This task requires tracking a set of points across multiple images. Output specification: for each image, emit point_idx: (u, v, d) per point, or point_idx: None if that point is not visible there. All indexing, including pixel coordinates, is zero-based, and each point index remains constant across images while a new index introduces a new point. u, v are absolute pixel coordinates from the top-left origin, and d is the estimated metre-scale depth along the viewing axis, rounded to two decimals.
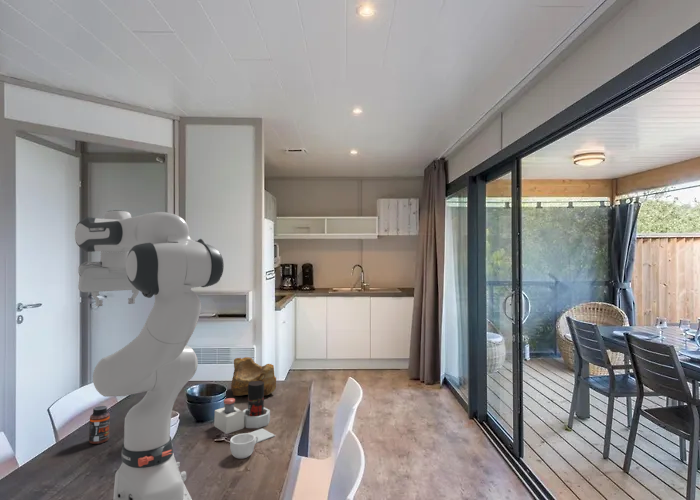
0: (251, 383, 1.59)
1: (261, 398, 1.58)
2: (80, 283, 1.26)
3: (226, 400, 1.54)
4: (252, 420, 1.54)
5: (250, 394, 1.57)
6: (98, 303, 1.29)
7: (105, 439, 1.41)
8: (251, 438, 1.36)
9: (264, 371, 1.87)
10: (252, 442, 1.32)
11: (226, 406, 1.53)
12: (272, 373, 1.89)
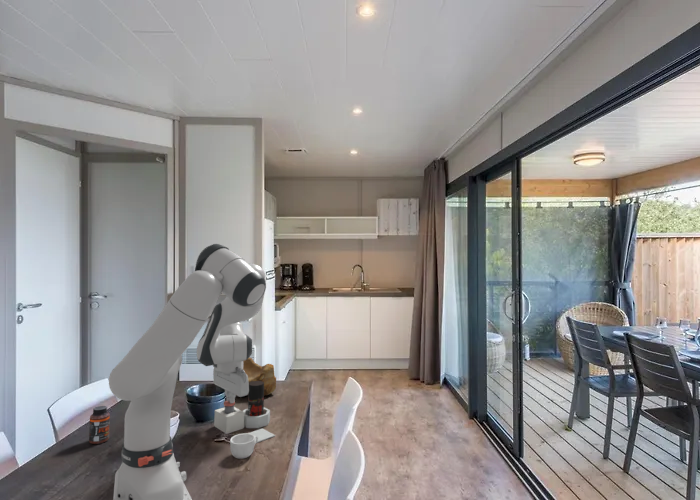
0: (251, 383, 1.59)
1: (261, 398, 1.58)
2: (246, 388, 1.48)
3: (226, 402, 1.54)
4: (252, 420, 1.54)
5: (250, 394, 1.57)
6: None
7: (105, 439, 1.41)
8: (251, 438, 1.36)
9: (264, 371, 1.87)
10: (252, 442, 1.32)
11: (226, 408, 1.53)
12: (272, 373, 1.89)
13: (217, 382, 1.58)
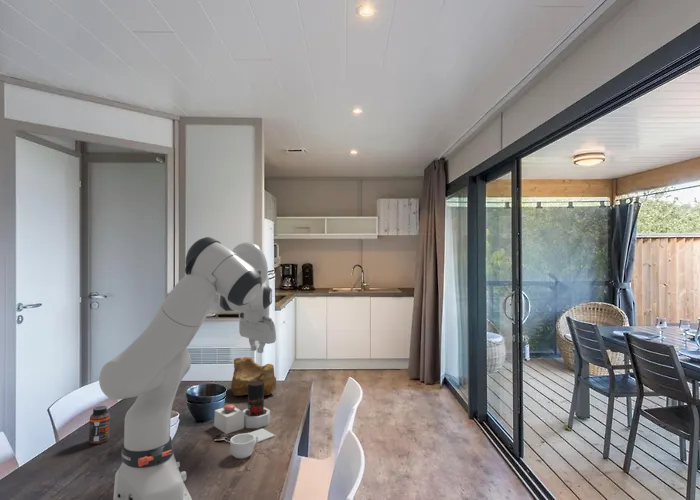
0: (251, 383, 1.59)
1: (261, 398, 1.58)
2: (273, 336, 1.53)
3: (226, 406, 1.54)
4: (252, 420, 1.54)
5: (250, 394, 1.57)
6: None
7: (105, 439, 1.41)
8: (251, 438, 1.36)
9: (264, 371, 1.87)
10: (252, 442, 1.32)
11: (226, 412, 1.53)
12: (272, 373, 1.89)
13: (243, 333, 1.63)
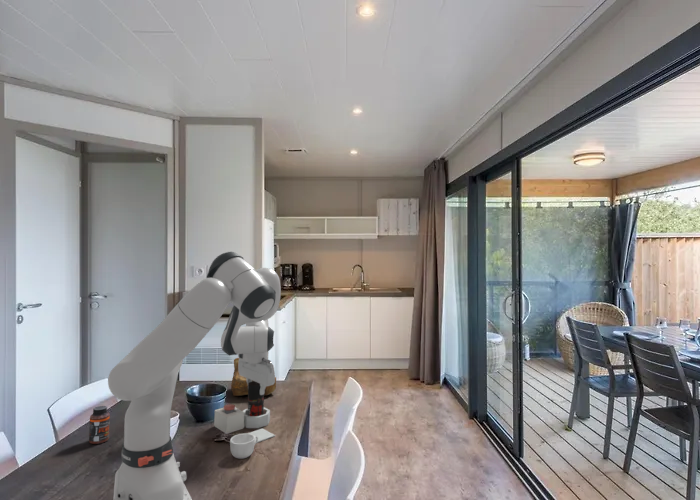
0: (251, 383, 1.59)
1: (261, 398, 1.58)
2: (272, 378, 1.53)
3: (226, 406, 1.54)
4: (252, 420, 1.54)
5: (250, 394, 1.57)
6: None
7: (105, 439, 1.41)
8: (251, 438, 1.36)
9: None
10: (252, 442, 1.32)
11: (226, 412, 1.53)
12: None
13: (242, 372, 1.63)
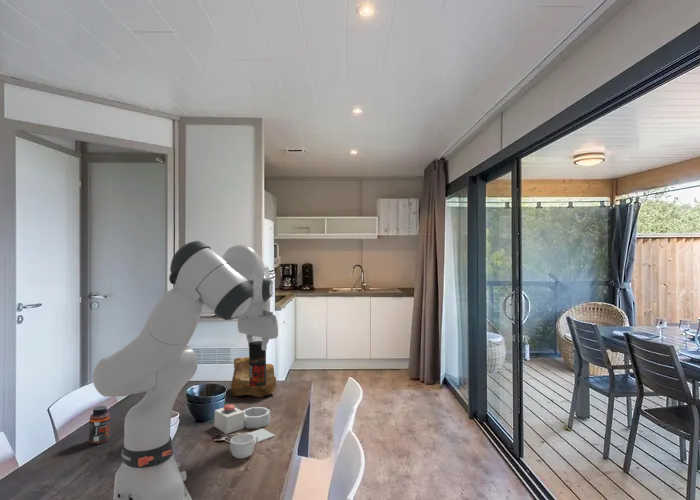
0: (252, 343, 1.49)
1: (263, 358, 1.48)
2: (275, 331, 1.43)
3: (226, 406, 1.54)
4: (252, 420, 1.54)
5: (251, 354, 1.47)
6: None
7: (105, 439, 1.41)
8: (251, 438, 1.36)
9: None
10: (252, 442, 1.32)
11: (226, 412, 1.53)
12: (272, 373, 1.89)
13: (242, 329, 1.53)
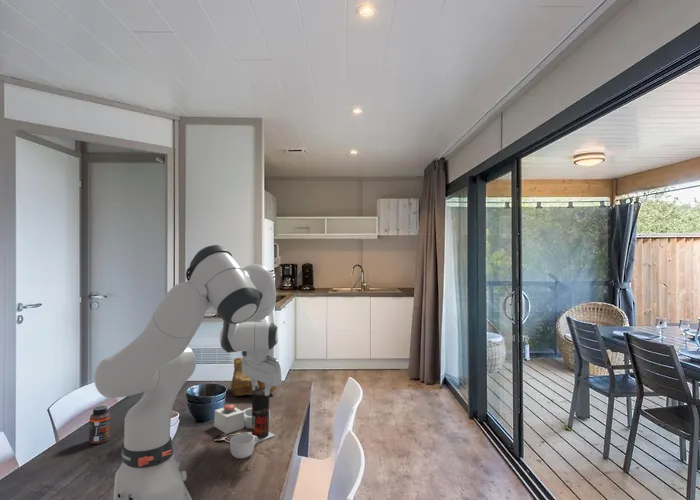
0: (255, 393, 1.47)
1: (267, 408, 1.46)
2: (278, 378, 1.41)
3: (226, 406, 1.54)
4: None
5: (255, 404, 1.45)
6: None
7: (105, 439, 1.41)
8: (251, 438, 1.36)
9: None
10: (252, 442, 1.32)
11: (226, 412, 1.53)
12: None
13: (246, 371, 1.52)
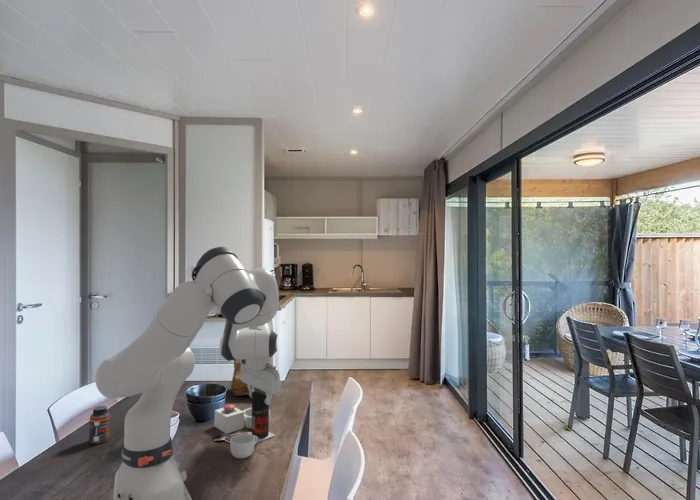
0: (255, 393, 1.47)
1: (266, 408, 1.46)
2: (278, 386, 1.41)
3: (226, 406, 1.54)
4: None
5: (255, 405, 1.45)
6: None
7: (105, 439, 1.41)
8: (251, 438, 1.36)
9: None
10: (252, 442, 1.32)
11: (226, 412, 1.53)
12: None
13: (245, 379, 1.51)
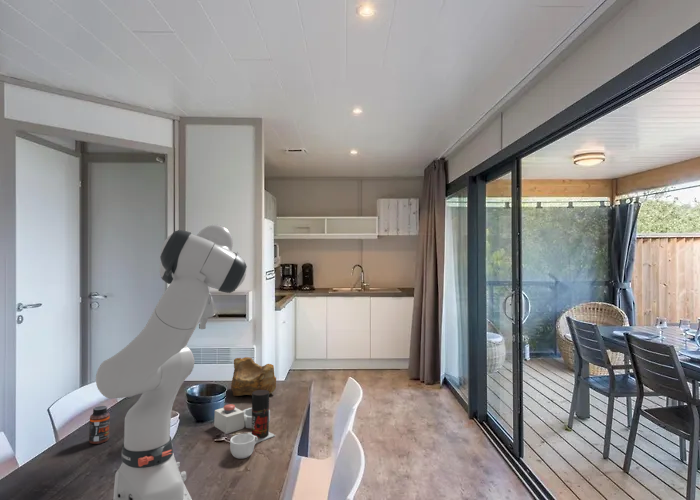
0: (255, 393, 1.47)
1: (266, 408, 1.46)
2: (210, 310, 1.47)
3: (226, 406, 1.54)
4: None
5: (255, 405, 1.45)
6: None
7: (105, 439, 1.41)
8: (251, 438, 1.36)
9: (264, 371, 1.87)
10: (252, 442, 1.32)
11: (226, 412, 1.53)
12: (272, 373, 1.89)
13: None
